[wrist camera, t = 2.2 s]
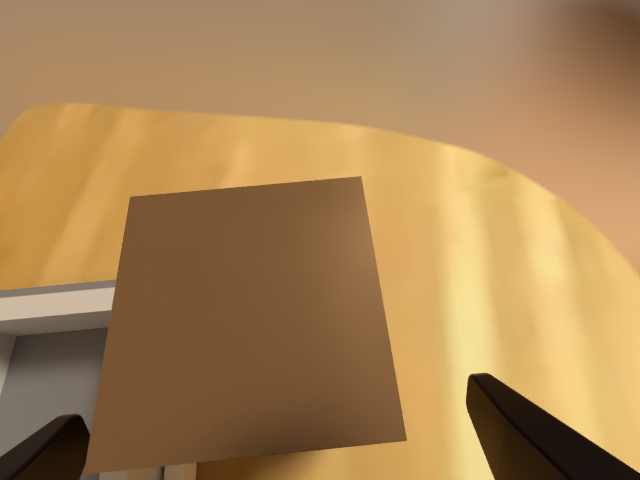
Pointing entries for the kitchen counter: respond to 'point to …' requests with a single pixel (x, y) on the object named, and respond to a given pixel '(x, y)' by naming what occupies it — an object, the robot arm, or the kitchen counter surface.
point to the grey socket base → (58, 364)
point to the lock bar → (245, 329)
